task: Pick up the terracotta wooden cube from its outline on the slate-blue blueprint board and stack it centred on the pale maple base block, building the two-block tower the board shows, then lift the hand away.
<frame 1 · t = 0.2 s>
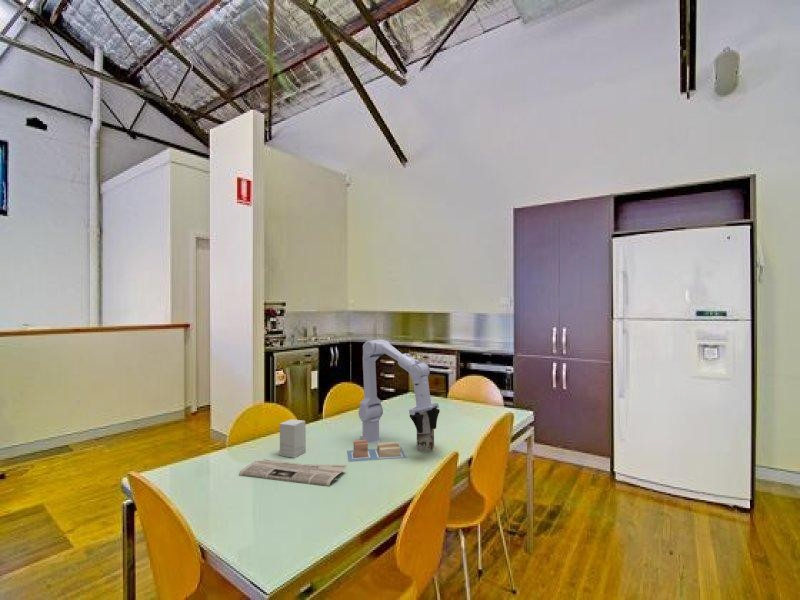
hand: (427, 430, 158), 11 cm above the table, tool pointing down, fingers open, 7 cm apart
blueprint board: (376, 455, 161), on the table
top block: (360, 455, 160), point 1 cm above the table, touching blueprint board
newspaper: (294, 475, 143), on the table
supplement box: (292, 454, 163), on the table
base block: (388, 453, 162), point 1 cm above the table, touching blueprint board
coffee box: (425, 449, 168), on the table, touching gripper
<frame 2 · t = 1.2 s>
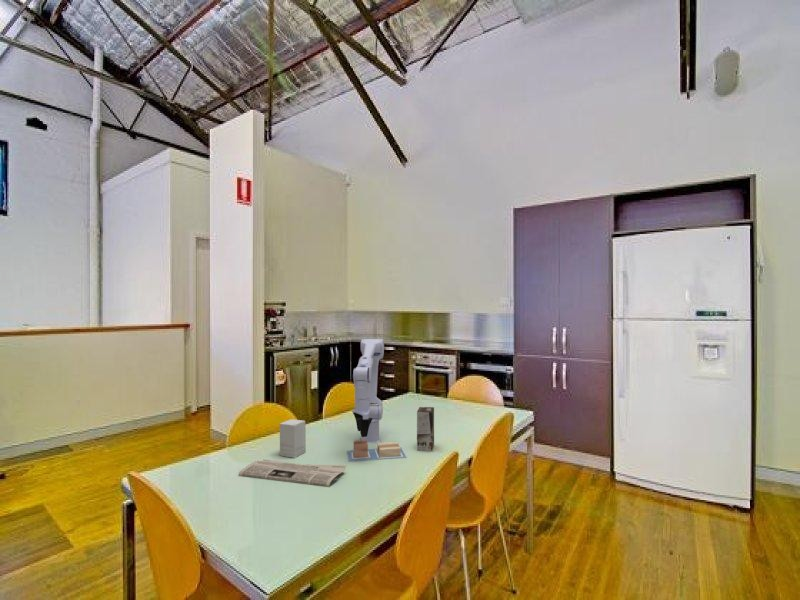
hand: (362, 433, 159), 9 cm above the table, tool pointing down, fingers open, 7 cm apart
coffee box: (425, 449, 168), on the table
everything else where it was.
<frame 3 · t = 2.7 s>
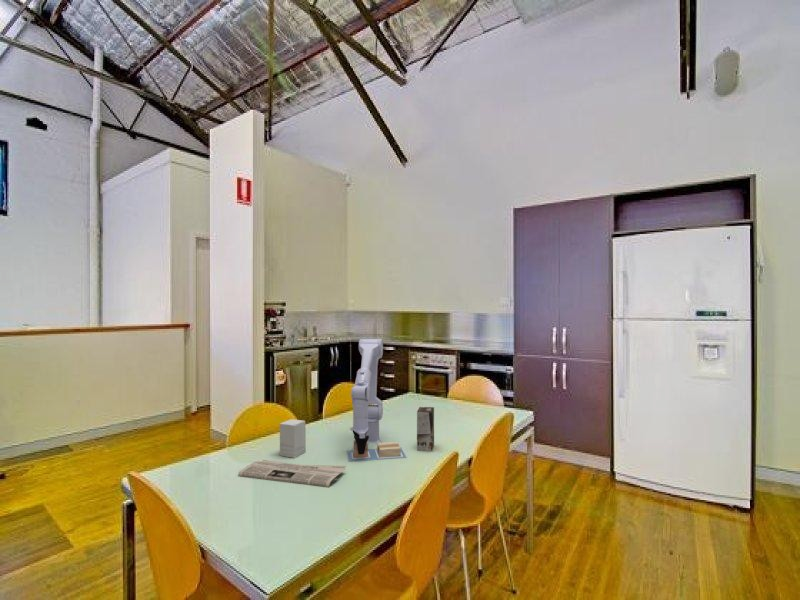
hand: (360, 451, 160), 2 cm above the table, tool pointing down, fingers closed on top block, 5 cm apart
top block: (360, 455, 160), point 1 cm above the table, touching blueprint board, gripper
everything else where it was.
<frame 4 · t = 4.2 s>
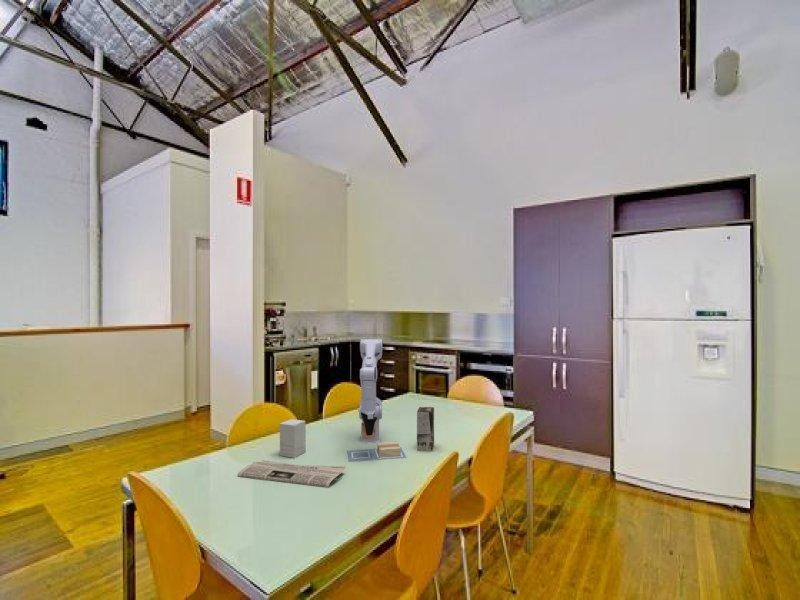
hand: (368, 432, 160), 9 cm above the table, tool pointing down, fingers closed on top block, 5 cm apart
top block: (368, 436, 160), point 7 cm above the table, touching gripper
everything else where it was.
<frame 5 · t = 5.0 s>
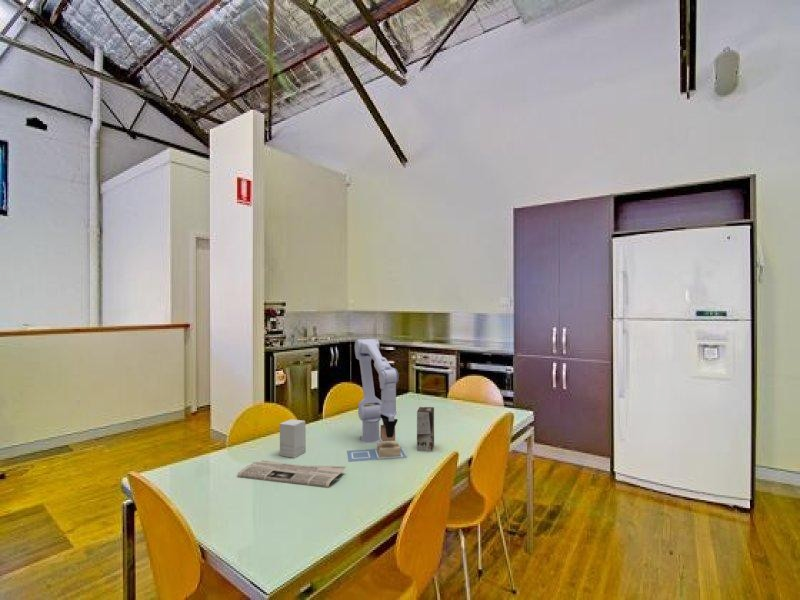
hand: (388, 434, 162), 8 cm above the table, tool pointing down, fingers closed on top block, 5 cm apart
top block: (387, 439, 162), point 6 cm above the table, touching gripper
when the fingers open (6 cm above the table, at t = 5.8 s): top block moves 1 cm, resting on base block.
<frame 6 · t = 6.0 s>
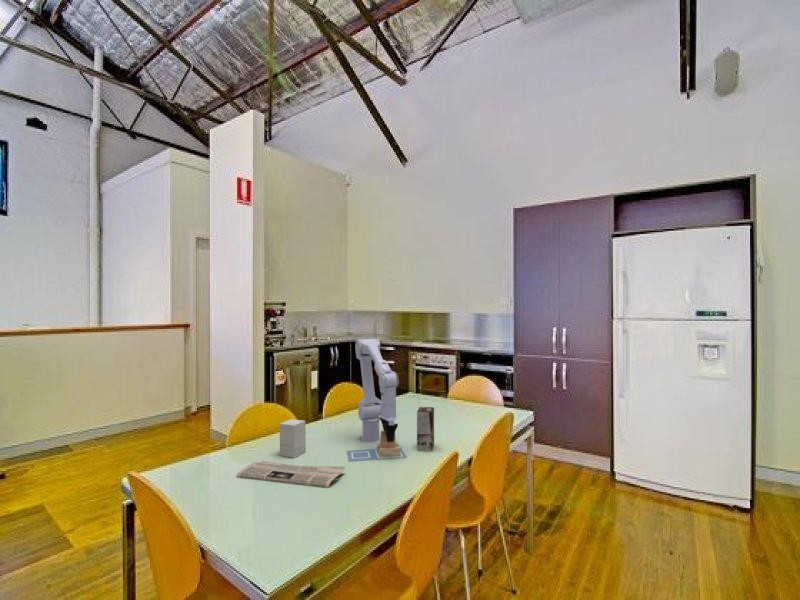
hand: (388, 438, 162), 6 cm above the table, tool pointing down, fingers open, 6 cm apart
top block: (388, 445, 162), point 4 cm above the table, touching base block
base block: (388, 453, 162), point 1 cm above the table, touching blueprint board, top block
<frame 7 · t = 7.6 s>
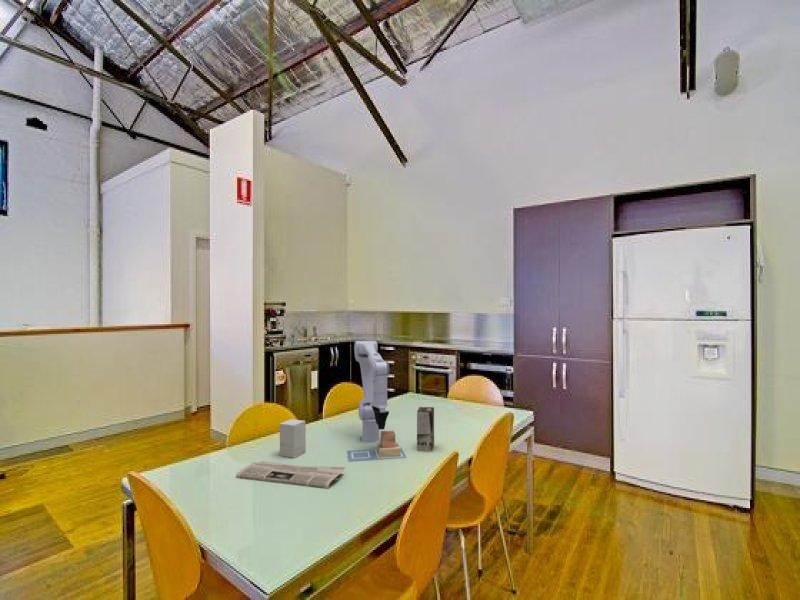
hand: (380, 426, 164), 10 cm above the table, tool pointing down, fingers open, 7 cm apart
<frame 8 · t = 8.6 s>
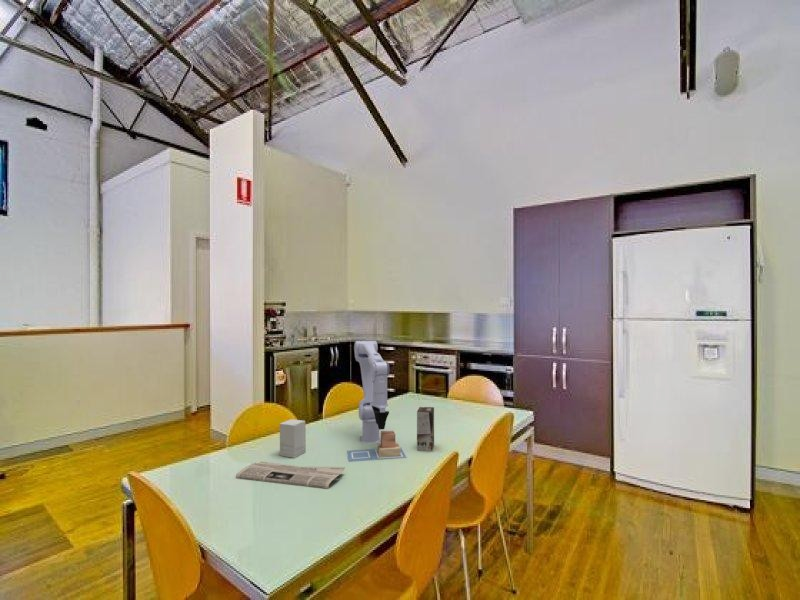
hand: (380, 426, 164), 10 cm above the table, tool pointing down, fingers open, 7 cm apart
at the end: top block 0.3 cm off-centre on the base block, point 3.0 cm above the base block's base; top block tilted 0°; base block moved 0.0 cm from its start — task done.
